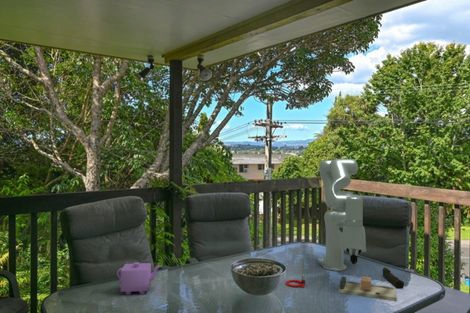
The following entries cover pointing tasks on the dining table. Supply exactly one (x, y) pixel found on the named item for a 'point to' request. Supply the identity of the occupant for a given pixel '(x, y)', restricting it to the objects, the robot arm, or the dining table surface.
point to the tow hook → (302, 282)
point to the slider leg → (366, 283)
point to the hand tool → (392, 278)
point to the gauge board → (375, 291)
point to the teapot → (136, 277)
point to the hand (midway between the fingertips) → (353, 263)
